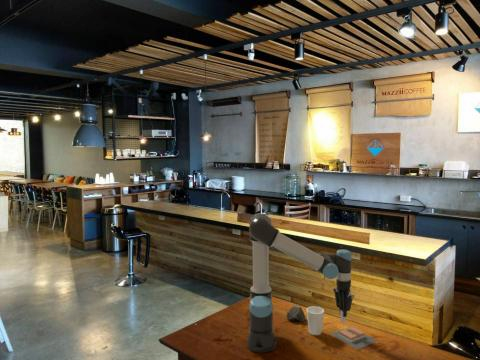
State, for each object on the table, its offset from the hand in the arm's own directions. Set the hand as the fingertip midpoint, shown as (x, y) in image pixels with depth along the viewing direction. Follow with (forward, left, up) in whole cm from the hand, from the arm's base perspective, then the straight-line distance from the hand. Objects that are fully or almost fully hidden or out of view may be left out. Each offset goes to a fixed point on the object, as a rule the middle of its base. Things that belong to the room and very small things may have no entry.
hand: (343, 321), depth 201 cm
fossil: (-11, +27, -7) cm, 30 cm away
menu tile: (0, -2, -5) cm, 5 cm away
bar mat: (0, -7, -6) cm, 10 cm away
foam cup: (-13, +8, -7) cm, 16 cm away
